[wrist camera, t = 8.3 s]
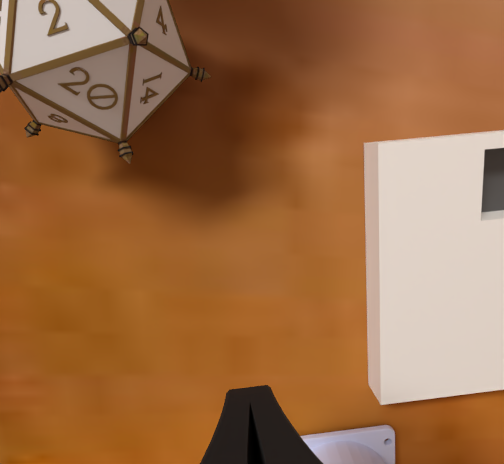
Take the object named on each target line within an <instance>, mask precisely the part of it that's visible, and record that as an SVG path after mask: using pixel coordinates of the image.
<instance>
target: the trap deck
mask: <svg viewBox="0 0 504 464" xmlns="http://www.w3.org/2000/svg"><path fill="white" fill-rule="evenodd" d="M364 177H365V231H366V284H367V338H368V384H369V386H370V388H371V389H372V391H373V393H374V394H375V396H376V398H377V399H378V401H379V403H380V405H385V404H393V403H401V402H409V401H417V400H425V399H433V398H441V397H448V396H456V395H464V394H472V393H480V392H488V391H496V390H504V130H500V131H489V132H478V133H467V134H457V135H446V136H435V137H424V138H413V139H402V140H392V141H381V142H370V143H364Z"/></svg>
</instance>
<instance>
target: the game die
mask: <svg viewBox="0 0 504 464" xmlns="http://www.w3.org/2000/svg"><path fill="white" fill-rule="evenodd" d="M0 73H1V75H0V92H1V91H5V90H6V89H7V88H8V87H10V89H11V90H12V91H13V93H14V94H15V95H16V97H17V98H18V99H19V101H20V102H21V104H22V105H23V106H24V108H25V109H26V110H27V112H28V113H29V115H30V116H31V117H32V119H33V121H32V122H31V121H30V122H29V123H28V125H27V126H26V127H25V130H26V135H27V137H31V136H34V135H39V134H38V132H39V131H41V129H40V126H41V125H46V126H50V127H54V128H58V129H63V130H67V131H71V132H75V133H79V134H83V135H87V136H91V137H95V138H99V139H103V140H107V141H111V142H115V143H118V144H119V149H118V151H119V152H120V156H119V157H122V158H123V159H125V160H126V161H127V162H128V163H129V164H130V162H131V157H132V155H133V151H131V146H129V145H128V143H127V141H128V140H129V139H130V138H131V137H132V135H133V134H134V133H135V132H136V131H137V130H138V129H139V128H140V127H141V126H142V125H143V124H144V123H145V122H146V121H147V120H148V119H149V118H150V117H151V116H152V115H153V113H154V112H155V111H156V110H157V109H158V108H159V107H160V106H161V105H162V104H163V103H164V102H165V101H166V100H167V99H168V98H169V97H170V96H171V95H172V94H173V93H174V92H175V90H176V89H177V88H178V87H179V86H180V85H181V84H182V83H183V82H184V81H185V80H186V79H187V78H188V77H189V76H192V77H194V78H195V80H197V79H199V80H201V82H202V80H205V79H208V78H211V76H210V75H209V74H208V73H207V72H206V71H205V69H204V68H203V69H200V68H199V67H197V68H192V67H191V65H190V62H189V59H188V56H187V53H186V50H185V47H184V44H183V41H182V39H181V36H180V33H179V30H178V27H177V24H176V21H175V18H174V15H173V12H172V9H171V6H170V3H169V0H0Z"/></svg>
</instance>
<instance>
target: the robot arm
mask: <svg viewBox="0 0 504 464" xmlns="http://www.w3.org/2000/svg"><path fill="white" fill-rule="evenodd" d="M386 439H388V440H386ZM385 440H386V441H385ZM200 464H395V431H394V430H393V428H392V427H391V426H389V425H382V426H374V427H366V428H359V429H351V430H343V431H335V432H328V433H320V434H312V435H305V436H300V435H299V434H298V433H297V431H296V430H295V429H294V427H293V426H292V424H291V423H290V421H289V420H288V419H287V417H286V416H285V414H284V412H283V411H282V409H281V407H280V406H279V404H278V402H277V400H276V399H275V397H274V395H273V392H272V390H271V388H270V387H269V386H268V385H264V386H256V387H248V388H240V389H232V390H229V391H228V392H227V393H226V399H225V403H224V407H223V410H222V413H221V416H220V419H219V422H218V425H217V427H216V430H215V432H214V435H213V437H212V440H211V442H210V444H209V446H208V448H207V450H206V453H205V455H204V457H203V459H202V461H201V463H200Z"/></svg>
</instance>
